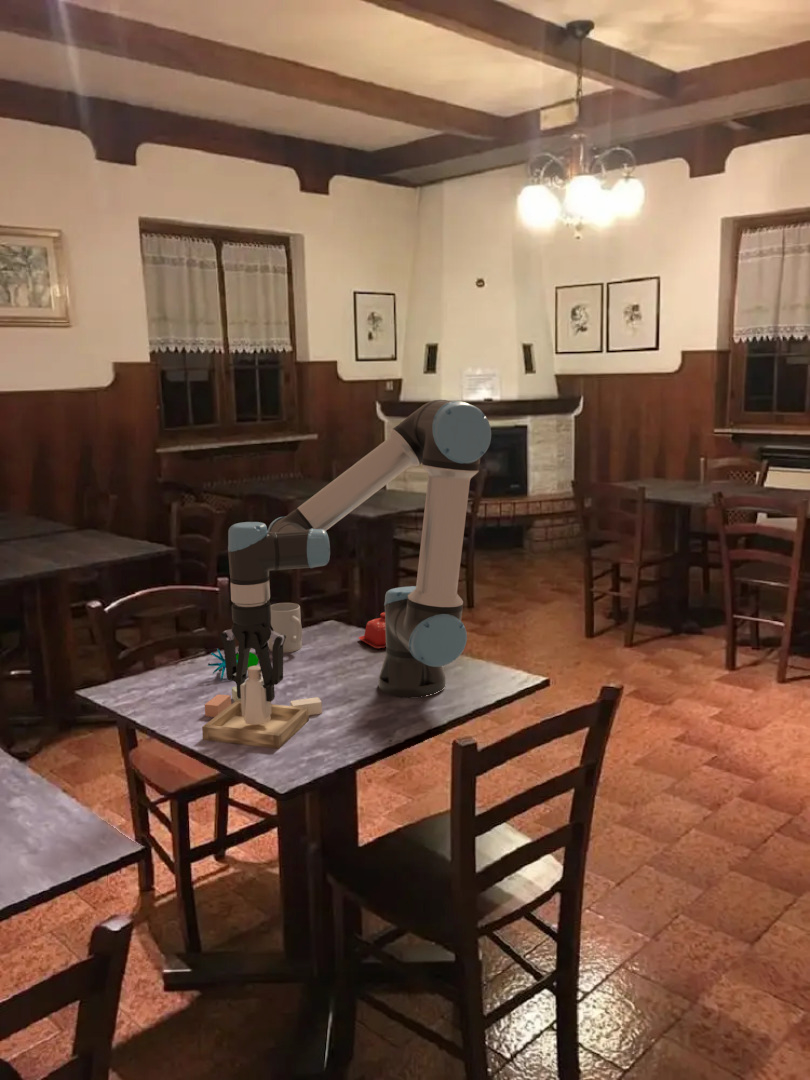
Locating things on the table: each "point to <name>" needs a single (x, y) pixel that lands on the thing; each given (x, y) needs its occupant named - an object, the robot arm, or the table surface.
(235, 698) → the sage brick
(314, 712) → the cream brick
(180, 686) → the table surface
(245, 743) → the oak tray
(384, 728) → the table surface
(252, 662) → the stick construction toy
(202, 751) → the table surface
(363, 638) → the butter dish
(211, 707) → the terracotta brick
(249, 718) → the pepper shaker
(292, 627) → the mug
